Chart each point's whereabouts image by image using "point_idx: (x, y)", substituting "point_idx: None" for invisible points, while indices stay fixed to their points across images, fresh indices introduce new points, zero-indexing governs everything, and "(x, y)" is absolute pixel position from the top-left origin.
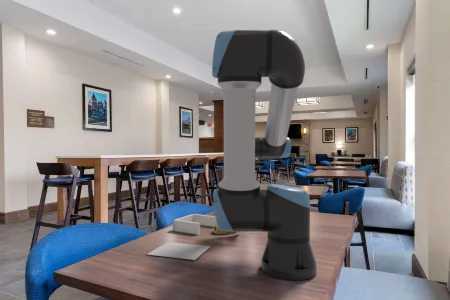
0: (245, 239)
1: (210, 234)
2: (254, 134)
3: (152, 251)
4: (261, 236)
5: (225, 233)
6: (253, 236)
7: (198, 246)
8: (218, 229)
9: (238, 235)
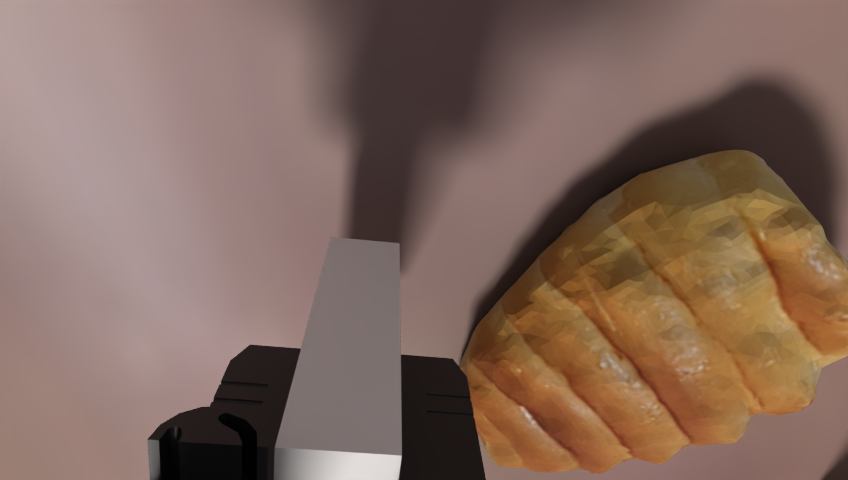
0: (151, 67)
1: (828, 113)
2: None
3: None
4: (14, 328)
5: (584, 216)
6: (121, 282)
7: None
8: (735, 183)
9: None
